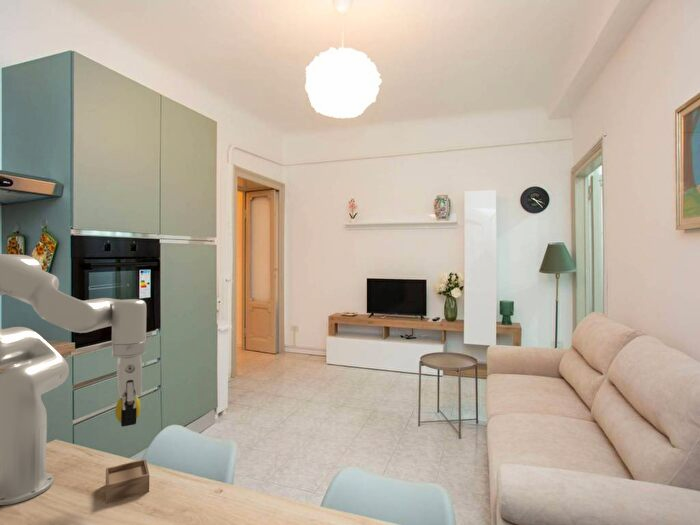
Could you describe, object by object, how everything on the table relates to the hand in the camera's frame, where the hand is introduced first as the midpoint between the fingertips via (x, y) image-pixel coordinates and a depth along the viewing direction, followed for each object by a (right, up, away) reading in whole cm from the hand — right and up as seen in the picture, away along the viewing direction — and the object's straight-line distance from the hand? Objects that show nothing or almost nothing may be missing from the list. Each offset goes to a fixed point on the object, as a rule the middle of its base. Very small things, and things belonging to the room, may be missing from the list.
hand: (127, 419), depth 97 cm
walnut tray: (0, -17, 0) cm, 17 cm away
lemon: (0, -1, 0) cm, 1 cm away
